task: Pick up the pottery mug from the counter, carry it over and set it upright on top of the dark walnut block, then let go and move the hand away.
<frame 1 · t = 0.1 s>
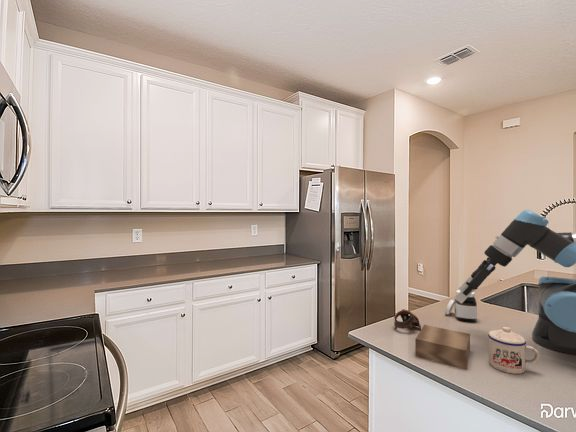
hand: (459, 295, 107), 15 cm above the counter, tool tilted 35°, fingers open, 13 cm apart
spread jar: (459, 318, 128), on the counter
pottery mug: (407, 328, 117), on the counter
walnut block: (443, 354, 96), on the counter
teacup with lid: (512, 368, 87), on the counter
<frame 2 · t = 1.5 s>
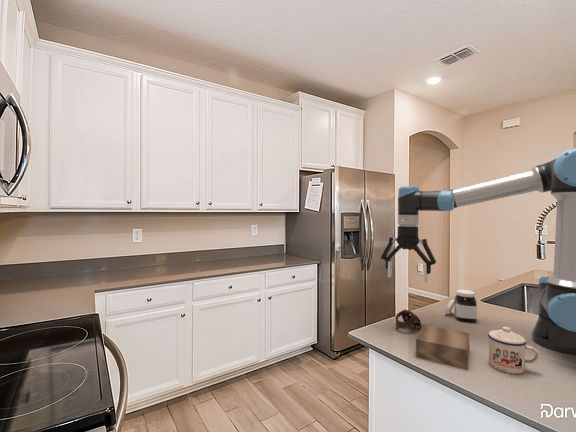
hand: (407, 279, 116), 19 cm above the counter, tool pointing down, fingers open, 13 cm apart
nothing on the counter moved.
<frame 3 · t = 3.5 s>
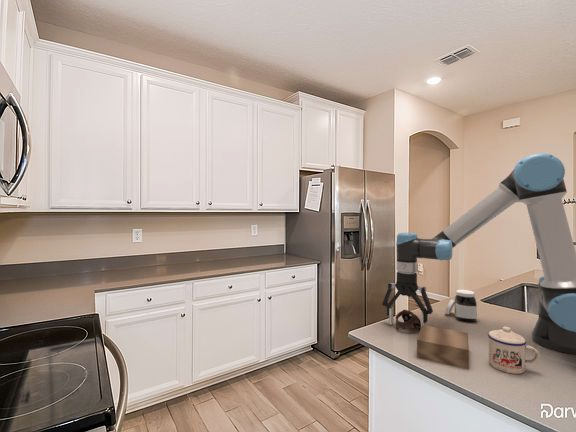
hand: (406, 327, 117), 0 cm above the counter, tool pointing down, fingers open, 11 cm apart
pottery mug: (408, 329, 117), on the counter, touching gripper
everything else where it was.
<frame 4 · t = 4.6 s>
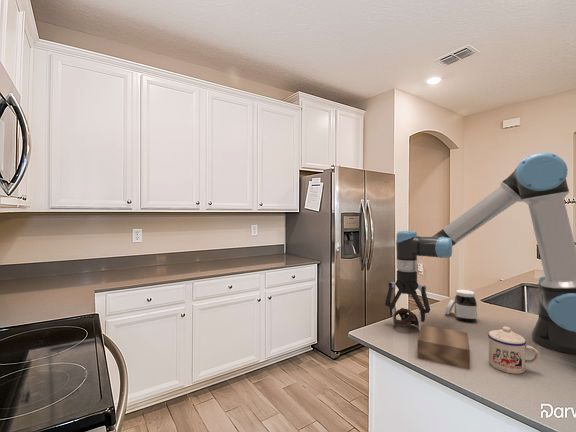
hand: (407, 326, 117), 1 cm above the counter, tool pointing down, fingers closed on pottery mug, 9 cm apart
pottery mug: (405, 327, 117), on the counter, touching gripper
everything else where it was.
when the fingers open (7 cm above the counter, at t = 10.0 s): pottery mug drops 1 cm, resting on walnut block.
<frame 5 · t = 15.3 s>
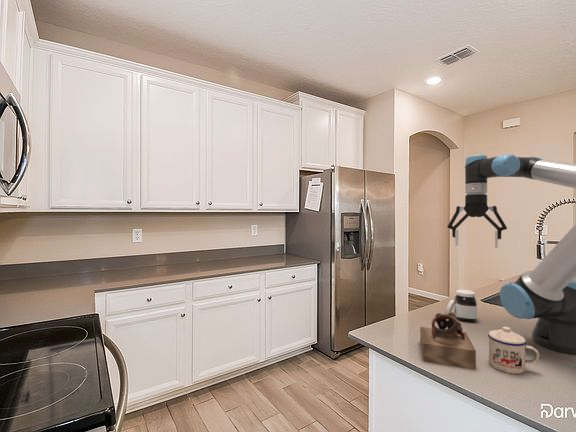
hand: (475, 246, 120), 32 cm above the counter, tool pointing down, fingers open, 13 cm apart
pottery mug: (446, 337, 96), point 5 cm above the counter, touching walnut block
walnut block: (445, 356, 95), on the counter, touching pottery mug
everything else where it was.
at the end: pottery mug inside the target area on the walnut block (1.0 cm from its centre), point 5.8 cm above the walnut block's base; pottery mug tilted 0°; the gripper is holding nothing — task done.
